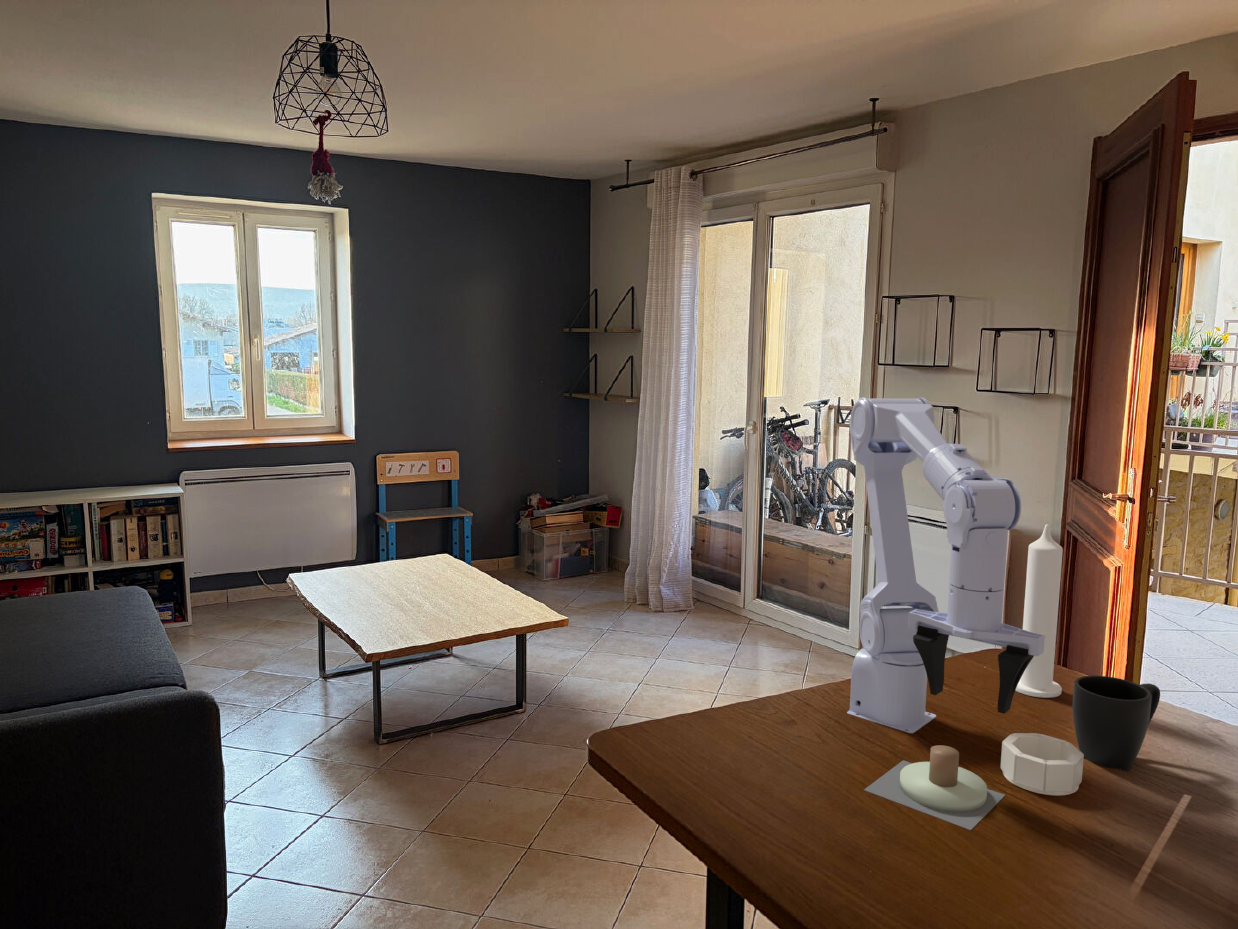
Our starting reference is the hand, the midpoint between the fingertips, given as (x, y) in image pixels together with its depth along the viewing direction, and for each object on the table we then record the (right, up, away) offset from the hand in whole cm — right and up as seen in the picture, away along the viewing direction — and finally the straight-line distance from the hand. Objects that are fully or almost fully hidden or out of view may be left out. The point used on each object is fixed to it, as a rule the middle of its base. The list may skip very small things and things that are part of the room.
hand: (969, 701), depth 100 cm
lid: (-4, -10, -2) cm, 10 cm away
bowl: (+9, -10, +2) cm, 13 cm away
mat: (-5, -10, -2) cm, 11 cm away
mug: (+21, -10, +8) cm, 25 cm away
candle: (+22, -7, +30) cm, 38 cm away
